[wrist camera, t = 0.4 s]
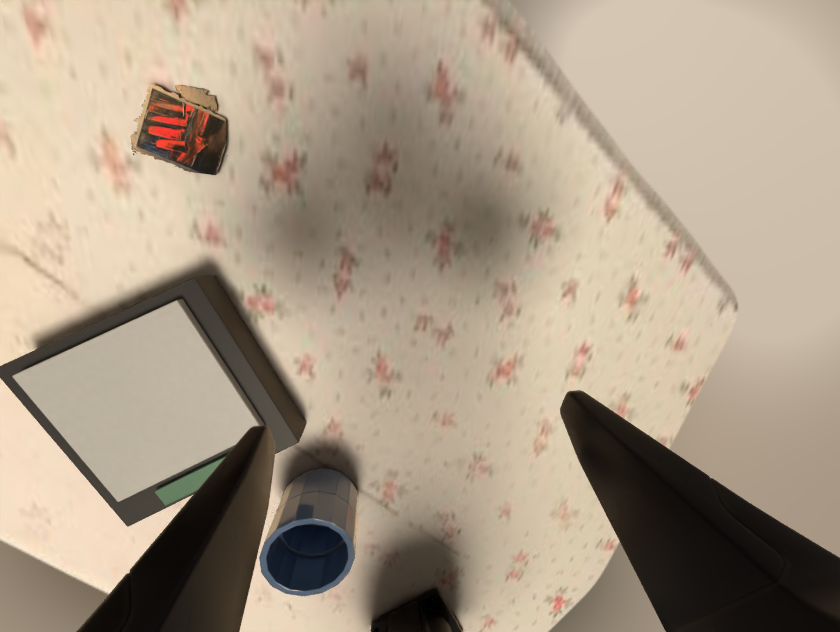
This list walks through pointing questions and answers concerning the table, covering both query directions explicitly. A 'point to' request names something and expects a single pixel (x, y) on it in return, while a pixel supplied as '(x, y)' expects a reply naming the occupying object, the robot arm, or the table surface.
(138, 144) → the red black picture tile
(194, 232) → the table surface
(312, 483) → the small cup
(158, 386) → the kitchen scale
